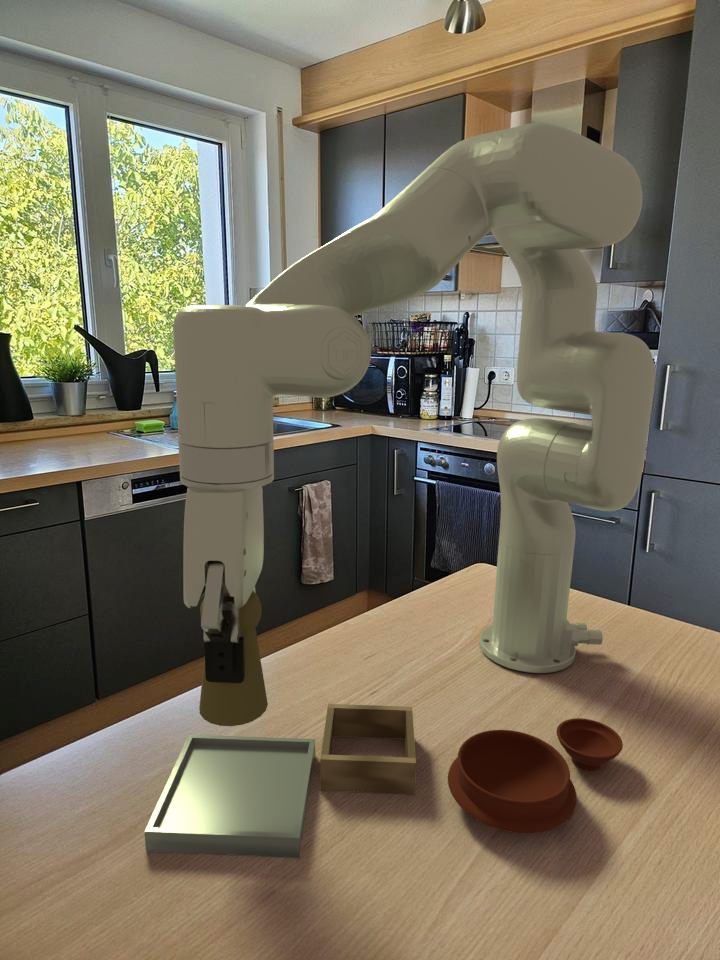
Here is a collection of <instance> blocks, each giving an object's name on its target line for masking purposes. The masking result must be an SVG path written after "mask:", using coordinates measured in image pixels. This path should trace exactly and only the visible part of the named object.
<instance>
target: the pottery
mask: <svg viewBox="0 0 720 960" xmlns="http://www.w3.org/2000/svg"><path fill="white" fill-rule="evenodd" d="M556 736H557V739H558V741H559V743H560V745H561V746H562V748H563V749H564V751H565V752H566V754H568V755H569V756H570V757H571V758H570V759H571V762H572V764H573V765H574V766H575V767H576V768H578V769H580V770H582V771H585V772H597V771H599V770H600V769H601V768H602V766H603V765H605V764H607V763H609V762H610V761H612V760H614V759H615V758H616V757H618V756H619V754H620V753H621V752H622V750H623V745H624V744H623V740H622V737H620V735H619V734H618V732H617V731H615V730H614V729H613V728H611V727H610V726H608V725H607V724H604V723H603V722H600V721H598V720H594V719H591V718H590V719H588V718H581V717H580V718H579V717H577V718H569V719H565V720H564V721H562V722H560V723H559V724H558V726H557V728H556ZM447 784H448V789H449V792H450V793H451V796H452V797H453V799H454V800H455V802H456V803H457V804H458V806H459V807H460V808H461V809H462V810H463V811H464V812H466V813H467V814H468V815H469V816H471V817H472V818H474V819H475V820H477V821H478V822H480V823H482V824H484V825H486V826H489V827H491V828H494V829H497V830H500V831H504V832H507V833H514V834H521V835H523V834H527V835H528V834H529V835H530V834H531V835H532V834H541V833H546V832H549V831H551V830H555V829H557V828H560V826H562V825H564V824H566V823H567V821H569V820H570V818H571V817H572V816H573V814H574V813H575V810H576V808H577V804H578V803H577V802H578V797H577V792H576V787H575V786H574V783H573V781H572V780H571V770H570V768H569V765H568V763H567V761H566V759H565V758H564V757H563V755H562V754H561V753H560V752H559V751H558V750H557V749H556V748H555V747H553V746H552V745H551V744H549V743H547V742H546V741H544V740H542V739H540V738H538V737H536V736H534V735H532V734H529V733H525V732H521V731H517V730H510V729H492V730H486V731H481V732H478V733H476V734H474V735H472V736H470V737H469V738H467V739H466V740H465V741H464V742H463V743H462V744H461V746H460V748H459V750H458V752H457V757H455V759H454V760H453V761H452V763H451V764H450V767H449V768H448V773H447Z"/></svg>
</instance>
